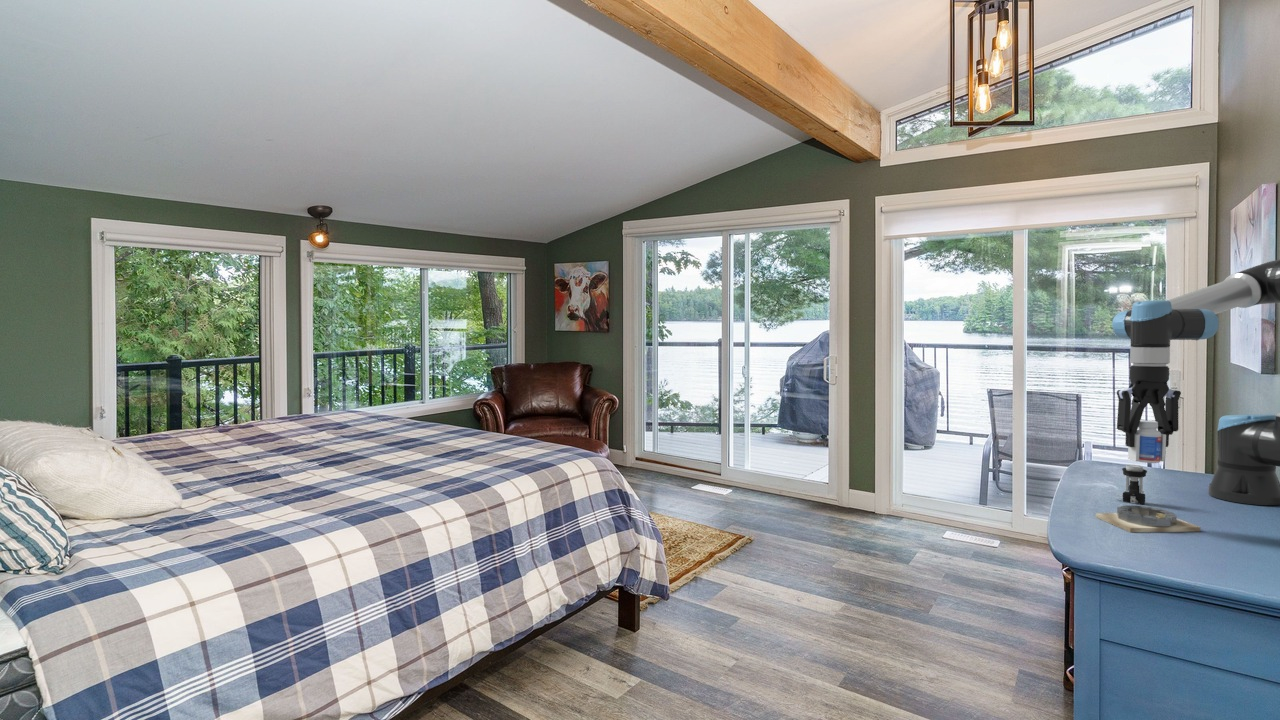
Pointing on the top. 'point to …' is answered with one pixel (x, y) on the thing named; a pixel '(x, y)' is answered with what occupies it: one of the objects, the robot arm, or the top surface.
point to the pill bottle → (1149, 442)
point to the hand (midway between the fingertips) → (1146, 460)
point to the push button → (1134, 484)
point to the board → (1130, 527)
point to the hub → (1146, 516)
